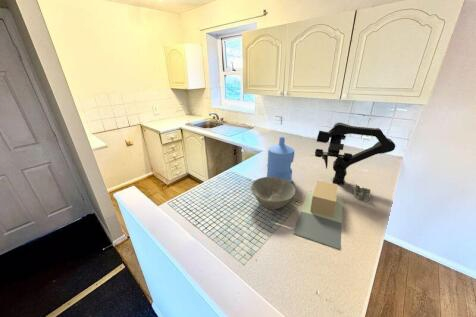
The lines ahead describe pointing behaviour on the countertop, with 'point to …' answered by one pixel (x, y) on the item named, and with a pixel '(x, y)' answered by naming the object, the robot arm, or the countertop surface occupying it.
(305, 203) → the board
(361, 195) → the egg carton
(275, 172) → the water jug
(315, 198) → the kraft carton
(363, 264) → the countertop surface
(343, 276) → the countertop surface
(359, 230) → the countertop surface
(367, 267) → the countertop surface
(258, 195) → the ceramic bowl
